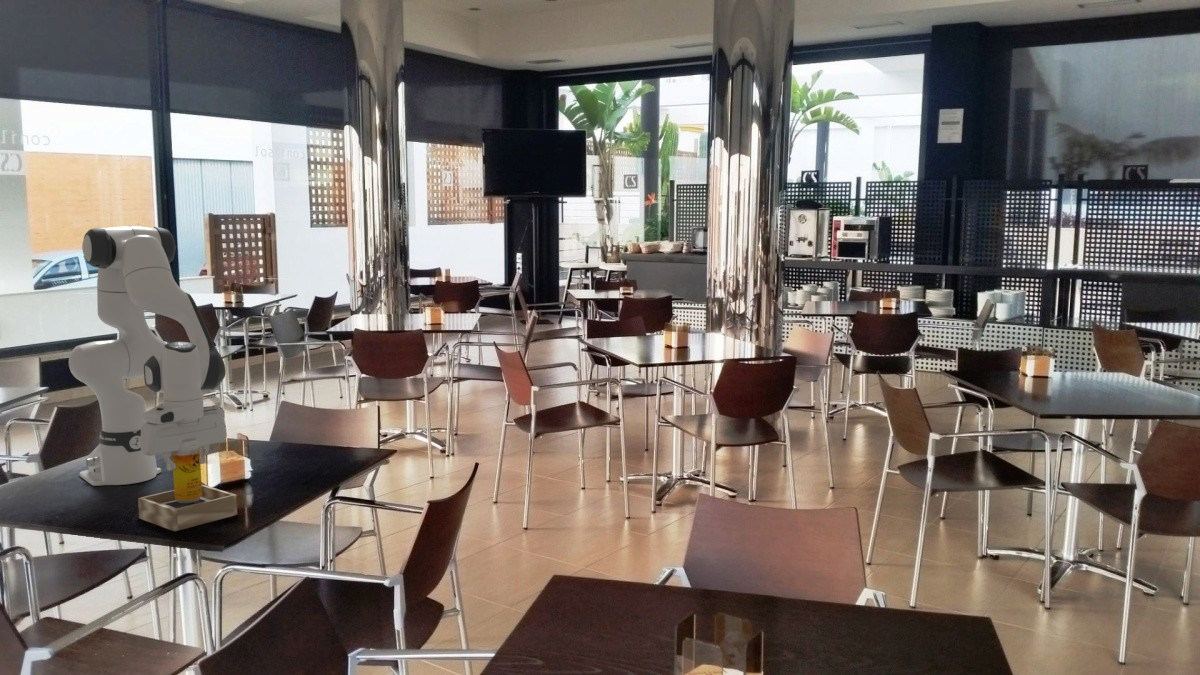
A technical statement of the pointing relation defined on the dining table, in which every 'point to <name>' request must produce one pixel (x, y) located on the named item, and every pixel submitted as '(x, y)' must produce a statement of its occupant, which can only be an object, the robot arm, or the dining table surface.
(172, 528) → the crate
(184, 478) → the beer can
